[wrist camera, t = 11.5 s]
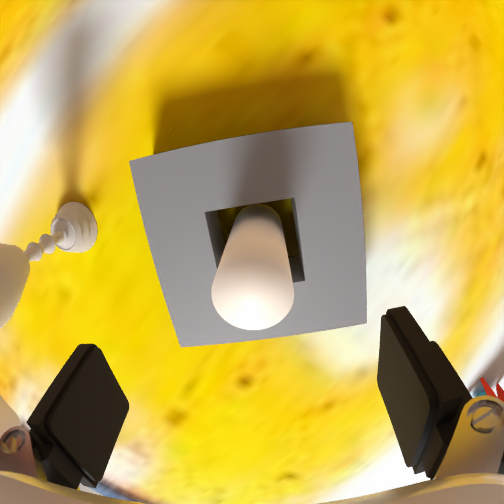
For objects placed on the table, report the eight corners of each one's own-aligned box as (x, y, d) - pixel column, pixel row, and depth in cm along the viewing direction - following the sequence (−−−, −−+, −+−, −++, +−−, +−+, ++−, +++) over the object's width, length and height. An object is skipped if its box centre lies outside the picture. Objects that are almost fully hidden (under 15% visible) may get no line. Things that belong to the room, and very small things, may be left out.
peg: (229, 208, 26) (203, 263, 15) (278, 200, 26) (288, 250, 15) (238, 253, 28) (220, 334, 16) (285, 246, 27) (298, 324, 16)
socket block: (152, 156, 25) (129, 161, 20) (335, 124, 24) (352, 121, 19) (192, 316, 30) (180, 347, 25) (352, 294, 29) (366, 323, 24)
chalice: (98, 184, 26) (-64, 256, 9) (115, 256, 28) (-9, 380, 11) (40, 200, 27) (-103, 270, 10) (57, 264, 29) (-62, 365, 12)
